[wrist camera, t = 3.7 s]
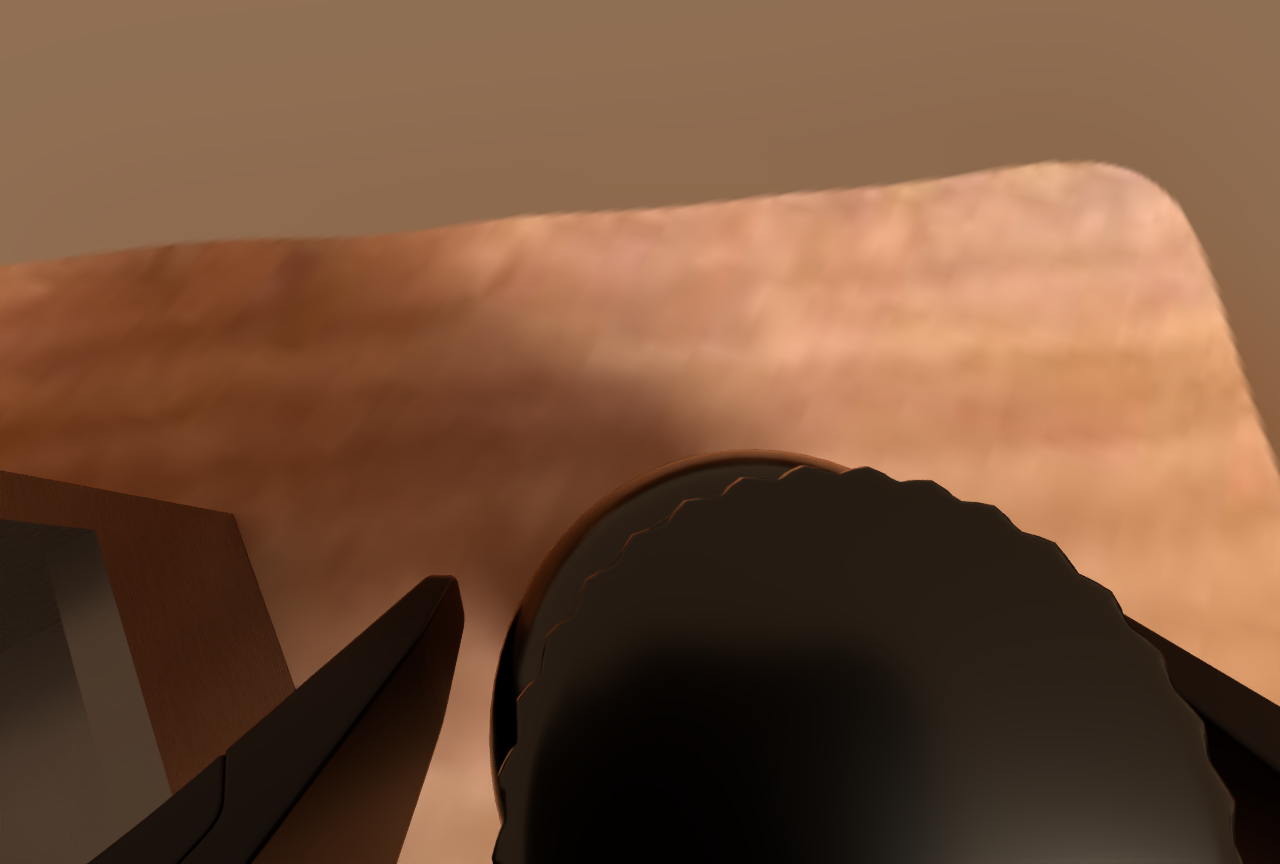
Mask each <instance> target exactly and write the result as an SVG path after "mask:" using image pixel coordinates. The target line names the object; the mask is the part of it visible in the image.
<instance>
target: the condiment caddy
mask: <svg viewBox="0 0 1280 864" xmlns="http://www.w3.org/2000/svg"><path fill="white" fill-rule="evenodd" d="M294 691H295V688H294V685H293V682H292V680H291V677H290V674H289V671H288V668H287V665H286V663H285V660H284V657H283V654H282V651H281V649H280V646H279V643H278V640H277V637H276V635H275V632H274V629H273V626H272V623H271V621H270V618H269V615H268V612H267V609H266V607H265V604H264V601H263V598H262V595H261V593H260V590H259V587H258V584H257V581H256V578H255V576H254V573H253V570H252V567H251V564H250V562H249V559H248V556H247V553H246V550H245V548H244V545H243V542H242V539H241V536H240V534H239V531H238V528H237V525H236V522H235V520H234V517H233V514H229V513H224V512H218V511H213V510H208V509H202V508H197V507H192V506H187V505H181V504H176V503H171V502H165V501H160V500H155V499H149V498H144V497H139V496H133V495H128V494H123V493H118V492H112V491H107V490H102V489H96V488H91V487H86V486H80V485H75V484H70V483H64V482H59V481H54V480H49V479H43V478H38V477H33V476H27V475H22V474H17V473H11V472H6V471H1V470H0V864H87V863H89V862H90V861H91V860H93V859H94V858H95V857H96V856H98V855H99V854H100V853H102V852H103V851H104V850H105V849H107V848H108V847H109V846H110V845H112V844H113V843H114V842H116V841H117V840H118V839H119V838H121V837H122V836H123V835H124V834H126V833H127V832H128V831H130V830H131V829H132V828H133V827H135V826H136V825H137V824H139V823H140V822H141V821H142V820H144V819H145V818H146V817H147V816H149V815H150V814H151V813H152V812H153V811H155V810H156V809H157V808H158V807H159V806H161V805H162V804H163V803H164V802H165V801H167V800H168V799H169V798H170V797H171V796H173V795H174V794H175V793H176V792H177V791H179V790H180V789H181V788H182V787H183V786H185V785H186V784H187V783H188V782H189V781H191V780H192V779H193V778H194V777H195V776H196V775H198V774H199V773H200V772H201V771H202V770H203V769H205V768H206V767H207V766H208V765H209V764H210V763H212V762H213V761H214V760H215V759H216V758H217V757H218V756H220V755H225V754H226V750H227V749H228V748H229V747H230V746H231V745H233V744H234V743H235V742H236V741H237V740H238V739H240V738H241V737H242V736H243V735H244V734H245V733H247V732H248V731H249V730H250V729H251V728H252V727H253V726H255V725H256V724H257V723H258V722H259V721H260V720H262V719H263V718H264V717H265V716H266V715H267V714H269V713H270V712H271V711H272V710H273V709H274V708H275V707H277V706H278V705H279V704H280V703H281V702H282V701H284V700H285V699H286V698H287V697H288V696H289V695H290V694H292V693H293V692H294Z"/></svg>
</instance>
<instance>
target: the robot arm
mask: <svg viewBox="0 0 1280 864" xmlns="http://www.w3.org/2000/svg"><path fill="white" fill-rule="evenodd" d="M1124 616H1125V617H1126V619H1127V621H1128V622H1129V624H1130V626H1131V627H1132V628H1134V629H1135V630H1136V631H1138V632H1139V633H1140V634H1142V635H1143V636H1145V637H1146V638H1147V639H1148V640H1150V641H1151V642H1152V643H1153V644H1154V645H1155V646H1157V647H1158V648H1159V649H1160V650H1161V651H1162V652H1163V655H1164V658H1165V660H1166V663H1167V665H1168V668H1169V671H1170V674H1171V677H1172V680H1173V683H1174V686H1175V690H1176V691H1177V692H1178V693H1179V694H1180V695H1181V696H1182V697H1183V698H1184V699H1185V700H1186V701H1187V702H1188V703H1189V704H1190V705H1191V706H1192V708H1193V709H1194V710H1195V711H1196V712H1197V714H1198V715H1199V716H1200V717H1201V718H1202V720H1203V721H1204V724H1205V729H1206V733H1207V738H1208V749H1209V754H1210V759H1211V763H1212V764H1213V766H1214V767H1215V769H1216V770H1217V772H1218V773H1219V775H1220V776H1221V778H1222V779H1223V781H1224V782H1225V784H1226V785H1227V787H1228V789H1229V790H1230V792H1231V794H1232V795H1233V797H1234V799H1235V802H1236V823H1235V843H1236V845H1237V847H1238V849H1239V851H1240V853H1241V856H1242V858H1243V860H1244V862H1245V864H1280V706H1278V705H1276V704H1275V703H1273V702H1271V701H1270V700H1268V699H1266V698H1265V697H1263V696H1261V695H1260V694H1258V693H1256V692H1254V691H1253V690H1251V689H1249V688H1248V687H1246V686H1244V685H1243V684H1241V683H1239V682H1238V681H1236V680H1234V679H1233V678H1231V677H1229V676H1227V675H1226V674H1224V673H1222V672H1221V671H1219V670H1217V669H1216V668H1214V667H1212V666H1211V665H1209V664H1207V663H1206V662H1204V661H1202V660H1200V659H1199V658H1197V657H1195V656H1194V655H1192V654H1190V653H1189V652H1187V651H1185V650H1184V649H1182V648H1180V647H1179V646H1177V645H1175V644H1174V643H1172V642H1170V641H1168V640H1167V639H1165V638H1163V637H1162V636H1160V635H1158V634H1157V633H1155V632H1153V631H1152V630H1150V629H1148V628H1147V627H1145V626H1143V625H1141V624H1140V623H1138V622H1136V621H1135V620H1133V619H1131V618H1130V617H1128V616H1126V615H1125V614H1124ZM463 629H464V609H463V605H462V600H461V595H460V590H459V585H458V581H457V579H456V578H455V577H454V576H451V575H431V576H428V577H426V578H425V579H424V580H422V581H421V582H420V583H419V584H418V585H417V586H415V587H414V588H413V589H412V590H411V591H410V592H408V593H407V594H406V595H405V596H404V597H403V598H402V599H400V600H399V601H398V602H397V603H396V604H395V605H393V606H392V607H391V608H390V609H389V610H388V611H387V612H385V613H384V614H383V615H382V616H381V617H380V618H378V619H377V620H376V621H375V622H374V623H373V624H371V625H370V626H369V627H368V628H367V629H366V630H365V631H363V632H362V633H361V634H360V635H359V636H358V637H356V638H355V639H354V640H353V641H352V642H351V643H349V644H348V645H347V646H346V647H345V648H344V649H343V650H341V651H340V652H339V653H338V654H337V655H336V656H334V657H333V658H332V659H331V660H330V661H329V662H328V663H326V664H325V665H324V666H323V667H322V668H321V669H319V670H318V671H317V672H316V673H315V674H314V675H312V676H311V677H310V678H309V679H308V680H307V681H306V682H304V683H303V684H302V685H301V686H300V687H299V688H297V689H296V690H295V691H294V692H293V693H292V694H290V695H289V696H288V697H287V698H286V699H285V700H284V701H282V702H281V703H280V704H279V705H278V706H277V707H275V708H274V709H273V710H272V711H271V712H270V713H269V714H267V715H266V716H265V717H264V718H263V719H262V720H260V721H259V722H258V723H257V724H256V725H255V726H253V727H252V728H251V729H250V730H249V731H248V732H247V733H245V734H244V735H243V736H242V737H241V738H240V739H238V740H237V741H236V742H235V743H234V744H233V745H231V746H230V747H229V748H228V749H227V750H226V754H225V755H220V756H218V757H217V758H216V759H215V760H214V761H213V762H212V763H210V764H209V765H208V766H207V767H206V768H205V769H203V770H202V771H201V772H200V773H199V774H198V775H196V776H195V777H194V778H193V779H192V780H191V781H189V782H188V783H187V784H186V785H185V786H183V787H182V788H181V789H180V790H179V791H177V792H176V793H175V794H174V795H173V796H171V797H170V798H169V799H168V800H167V801H165V802H164V803H163V804H162V805H161V806H159V807H158V808H157V809H156V810H155V811H153V812H152V813H151V814H150V815H149V816H147V817H146V818H145V819H144V820H142V821H141V822H140V823H139V824H137V825H136V826H135V827H133V828H132V829H131V830H130V831H128V832H127V833H126V834H124V835H123V836H122V837H121V838H119V839H118V840H117V841H116V842H114V843H113V844H112V845H110V846H109V847H108V848H107V849H105V850H104V851H103V852H102V853H100V854H99V855H98V856H96V857H95V858H94V859H93V860H91V861H90V862H89V863H87V864H397V861H398V858H399V855H400V852H401V849H402V846H403V843H404V840H405V837H406V834H407V831H408V828H409V825H410V822H411V819H412V816H413V813H414V810H415V807H416V804H417V801H418V798H419V795H420V792H421V789H422V786H423V783H424V780H425V777H426V774H427V771H428V768H429V765H430V762H431V759H432V756H433V753H434V750H435V747H436V744H437V741H438V738H439V734H440V731H441V728H442V724H443V721H444V717H445V712H446V708H447V704H448V699H449V694H450V690H451V685H452V680H453V676H454V671H455V666H456V661H457V657H458V652H459V647H460V643H461V638H462V633H463Z"/></svg>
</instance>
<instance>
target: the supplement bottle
mask: <svg viewBox="0 0 1280 864" xmlns="http://www.w3.org/2000/svg"><path fill="white" fill-rule="evenodd" d="M489 746H490V764H491V775H492V782H493V789H494V796H495V802H496V806H497V810H498V815H499V819H500V823H501V828H500V830H499V833H498V836H497V840H496V843H495V846H494V850H493V854H492V861H493V864H1245V862H1244V860H1243V858H1242V856H1241V853H1240V851H1239V849H1238V847H1237V845H1236V843H1235V823H1236V802H1235V799H1234V797H1233V795H1232V794H1231V792H1230V790H1229V789H1228V787H1227V785H1226V784H1225V782H1224V781H1223V779H1222V778H1221V776H1220V775H1219V773H1218V772H1217V770H1216V769H1215V767H1214V766H1213V764H1212V763H1211V759H1210V754H1209V749H1208V738H1207V733H1206V729H1205V724H1204V721H1203V720H1202V718H1201V717H1200V716H1199V715H1198V714H1197V712H1196V711H1195V710H1194V709H1193V708H1192V706H1191V705H1190V704H1189V703H1188V702H1187V701H1186V700H1185V699H1184V698H1183V697H1182V696H1181V695H1180V694H1179V693H1178V692H1177V691H1176V690H1175V686H1174V683H1173V680H1172V677H1171V674H1170V671H1169V668H1168V665H1167V663H1166V660H1165V658H1164V655H1163V652H1162V651H1161V650H1160V649H1159V648H1158V647H1157V646H1155V645H1154V644H1153V643H1152V642H1151V641H1150V640H1148V639H1147V638H1146V637H1145V636H1143V635H1142V634H1140V633H1139V632H1138V631H1136V630H1135V629H1134V628H1132V627H1131V626H1130V624H1129V622H1128V621H1127V619H1126V617H1125V616H1124V614H1123V611H1122V608H1121V606H1120V605H1119V603H1118V601H1117V600H1116V598H1115V596H1114V594H1113V593H1112V591H1110V590H1109V589H1107V588H1105V587H1104V586H1102V585H1100V584H1099V583H1097V582H1095V581H1093V580H1091V579H1089V578H1087V577H1085V576H1083V575H1081V574H1079V573H1078V572H1077V570H1076V569H1075V567H1074V566H1073V565H1072V563H1071V562H1070V560H1069V559H1068V558H1067V556H1066V555H1065V554H1064V553H1063V551H1062V550H1061V549H1060V548H1059V547H1058V545H1057V544H1056V543H1055V542H1052V541H1050V540H1047V539H1045V538H1042V537H1040V536H1036V535H1032V534H1029V533H1025V532H1022V531H1021V530H1020V529H1018V528H1017V527H1016V526H1015V525H1014V524H1013V523H1012V522H1011V521H1010V519H1009V518H1008V517H1007V516H1006V515H1005V514H1004V513H1002V512H1001V511H1000V510H999V509H998V508H997V507H996V506H994V505H989V504H984V503H979V502H966V501H961V500H959V499H958V498H956V497H954V496H953V495H952V494H951V493H950V492H949V491H948V490H946V489H945V488H943V487H942V486H940V485H938V484H937V483H935V482H934V481H932V480H908V481H904V482H899V481H896V480H894V479H892V478H890V477H889V476H887V475H886V474H884V473H882V472H880V471H877V470H875V469H873V468H870V467H868V466H862V467H858V468H853V469H851V468H848V467H845V466H842V465H839V464H836V463H834V462H831V461H828V460H824V459H820V458H816V457H812V456H808V455H804V454H797V453H791V452H784V451H775V450H758V449H750V450H728V451H720V452H713V453H706V454H701V455H697V456H693V457H688V458H684V459H681V460H678V461H675V462H672V463H669V464H666V465H663V466H660V467H658V468H655V469H653V470H651V471H649V472H647V473H644V474H642V475H640V476H638V477H636V478H634V479H632V480H631V481H629V482H627V483H625V484H624V485H622V486H620V487H618V488H617V489H615V490H614V491H613V492H611V493H610V494H608V495H607V496H605V497H604V498H603V499H601V500H600V501H598V502H597V503H596V504H595V505H593V506H592V507H591V508H590V509H589V510H588V511H586V512H585V513H584V514H583V515H582V516H581V517H579V518H578V519H577V520H576V521H575V523H574V524H573V525H572V526H571V527H570V528H569V529H568V530H567V531H566V532H565V533H564V534H563V535H562V536H561V537H560V538H559V540H558V541H557V542H556V544H555V545H554V546H553V547H552V549H551V550H550V551H549V552H548V554H547V555H546V556H545V558H544V559H543V561H542V562H541V564H540V565H539V567H538V568H537V570H536V571H535V573H534V574H533V576H532V577H531V579H530V581H529V583H528V585H527V587H526V589H525V591H524V592H523V594H522V596H521V598H520V600H519V602H518V604H517V607H516V609H515V612H514V614H513V616H512V619H511V621H510V624H509V626H508V629H507V632H506V635H505V639H504V642H503V645H502V648H501V651H500V655H499V660H498V665H497V669H496V674H495V678H494V685H493V693H492V701H491V709H490V731H489Z"/></svg>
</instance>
